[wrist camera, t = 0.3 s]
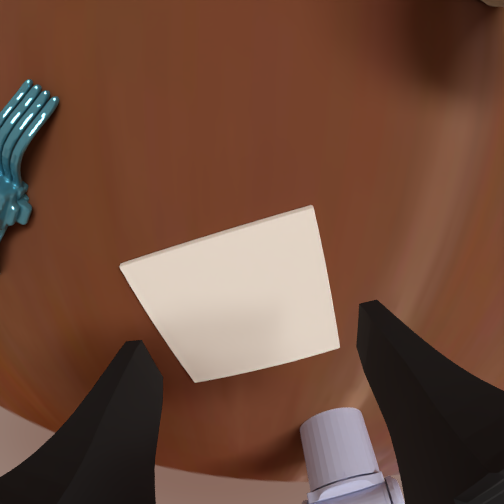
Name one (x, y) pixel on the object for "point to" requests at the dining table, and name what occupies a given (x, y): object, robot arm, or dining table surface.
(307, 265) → the mat
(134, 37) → the dining table surface
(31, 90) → the flying bird
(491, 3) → the flower pot
